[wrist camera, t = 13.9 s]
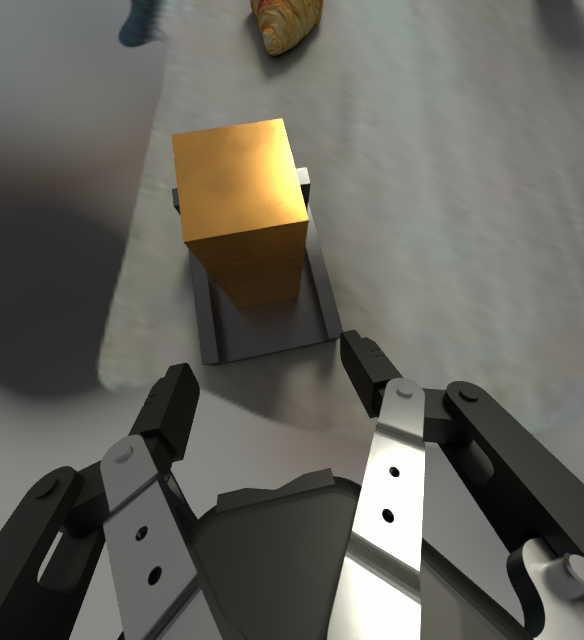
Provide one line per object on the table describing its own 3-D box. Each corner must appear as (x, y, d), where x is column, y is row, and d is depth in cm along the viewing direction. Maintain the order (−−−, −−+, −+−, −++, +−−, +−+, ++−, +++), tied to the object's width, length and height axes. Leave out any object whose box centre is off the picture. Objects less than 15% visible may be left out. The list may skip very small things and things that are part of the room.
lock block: (298, 295, 20) (308, 219, 10) (237, 308, 19) (183, 241, 9) (284, 234, 21) (281, 114, 11) (226, 245, 21) (171, 130, 11)
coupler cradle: (336, 339, 20) (362, 322, 13) (214, 365, 19) (171, 362, 12) (300, 201, 23) (305, 128, 16) (195, 219, 23) (153, 150, 16)
